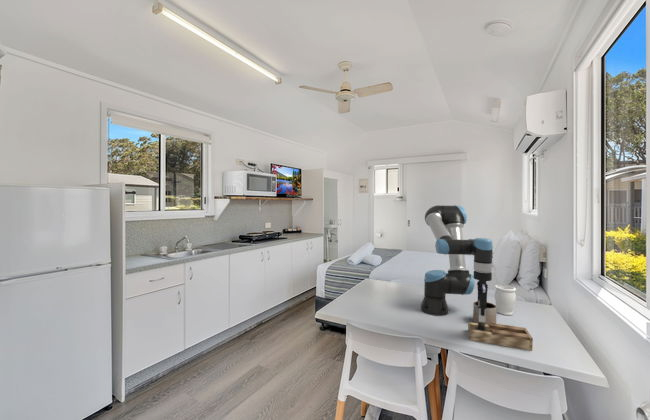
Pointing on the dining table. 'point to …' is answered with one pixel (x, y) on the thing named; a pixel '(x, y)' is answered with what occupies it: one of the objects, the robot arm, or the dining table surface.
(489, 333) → the rail
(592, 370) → the dining table surface
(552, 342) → the dining table surface
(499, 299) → the jar
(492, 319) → the planter
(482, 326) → the metal hex bolt
